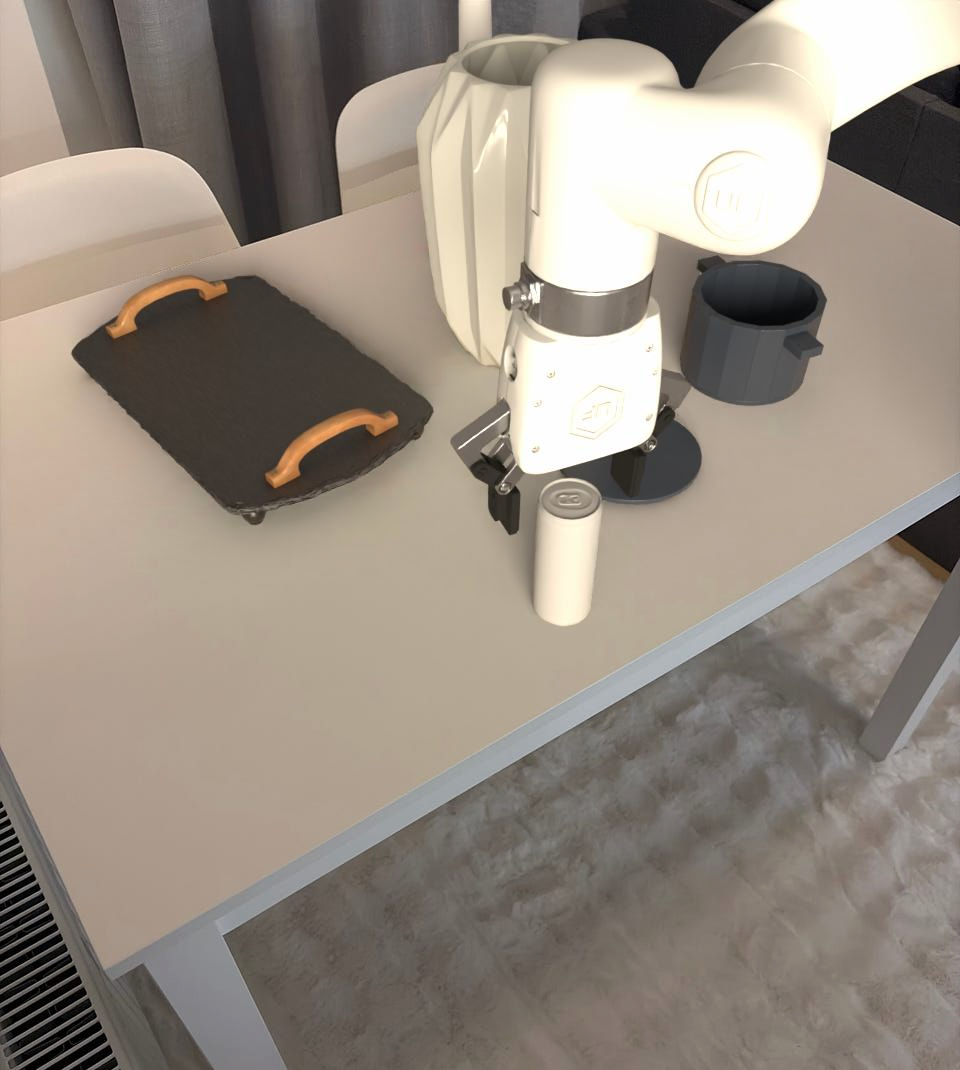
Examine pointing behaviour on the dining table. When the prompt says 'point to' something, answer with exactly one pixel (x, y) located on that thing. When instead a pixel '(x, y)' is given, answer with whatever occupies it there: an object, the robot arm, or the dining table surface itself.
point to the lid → (649, 469)
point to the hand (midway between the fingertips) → (565, 503)
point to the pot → (750, 330)
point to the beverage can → (566, 550)
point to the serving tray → (250, 391)
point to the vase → (479, 182)
